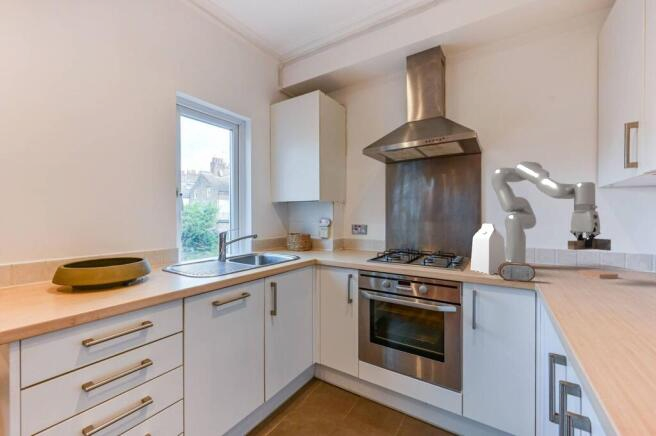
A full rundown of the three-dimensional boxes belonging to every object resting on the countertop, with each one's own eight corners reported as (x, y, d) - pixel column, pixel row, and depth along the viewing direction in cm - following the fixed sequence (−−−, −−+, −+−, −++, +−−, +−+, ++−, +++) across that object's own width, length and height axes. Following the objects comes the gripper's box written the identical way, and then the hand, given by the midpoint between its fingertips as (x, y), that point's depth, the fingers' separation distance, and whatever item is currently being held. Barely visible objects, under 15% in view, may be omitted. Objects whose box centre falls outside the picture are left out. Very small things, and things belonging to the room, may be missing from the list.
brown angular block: (584, 251, 127) (583, 239, 127) (558, 248, 139) (558, 238, 139) (610, 250, 128) (610, 239, 128) (583, 247, 140) (583, 237, 140)
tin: (533, 280, 133) (533, 263, 133) (536, 282, 130) (536, 264, 130) (497, 278, 137) (497, 261, 137) (499, 280, 134) (499, 262, 134)
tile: (599, 274, 137) (617, 274, 138) (579, 270, 147) (596, 270, 148) (599, 279, 137) (617, 279, 139) (579, 275, 147) (596, 274, 148)
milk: (505, 273, 149) (506, 224, 149) (488, 274, 146) (489, 224, 145) (486, 268, 161) (487, 223, 160) (470, 269, 157) (471, 223, 157)
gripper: (610, 207, 126) (610, 249, 126) (574, 209, 142) (574, 245, 142) (596, 207, 125) (596, 249, 125) (561, 209, 141) (561, 245, 141)
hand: (584, 247), depth 133 cm, fingers closed on brown angular block, 3 cm apart
